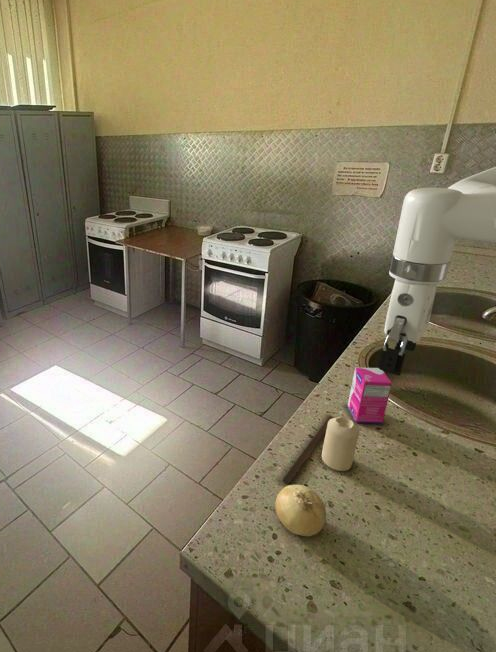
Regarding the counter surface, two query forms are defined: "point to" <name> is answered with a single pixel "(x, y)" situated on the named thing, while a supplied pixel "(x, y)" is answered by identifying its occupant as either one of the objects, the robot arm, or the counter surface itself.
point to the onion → (300, 510)
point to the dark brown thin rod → (306, 453)
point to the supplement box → (369, 395)
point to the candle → (340, 443)
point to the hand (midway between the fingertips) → (396, 359)
